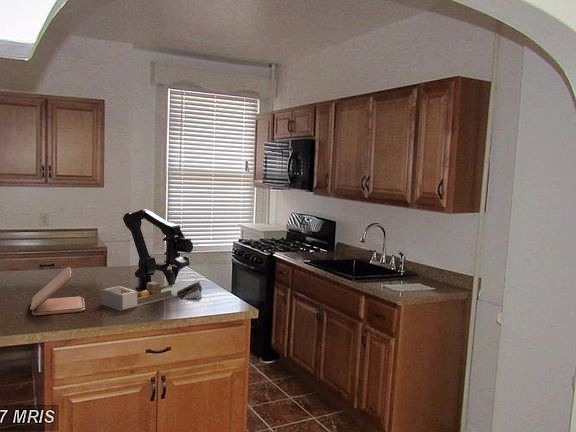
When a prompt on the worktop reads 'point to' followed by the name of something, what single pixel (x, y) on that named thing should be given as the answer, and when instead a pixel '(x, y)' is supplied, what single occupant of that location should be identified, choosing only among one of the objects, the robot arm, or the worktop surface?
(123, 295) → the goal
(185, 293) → the chocolate cake
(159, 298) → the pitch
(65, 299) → the case
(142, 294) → the ball
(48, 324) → the worktop surface
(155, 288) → the sled
